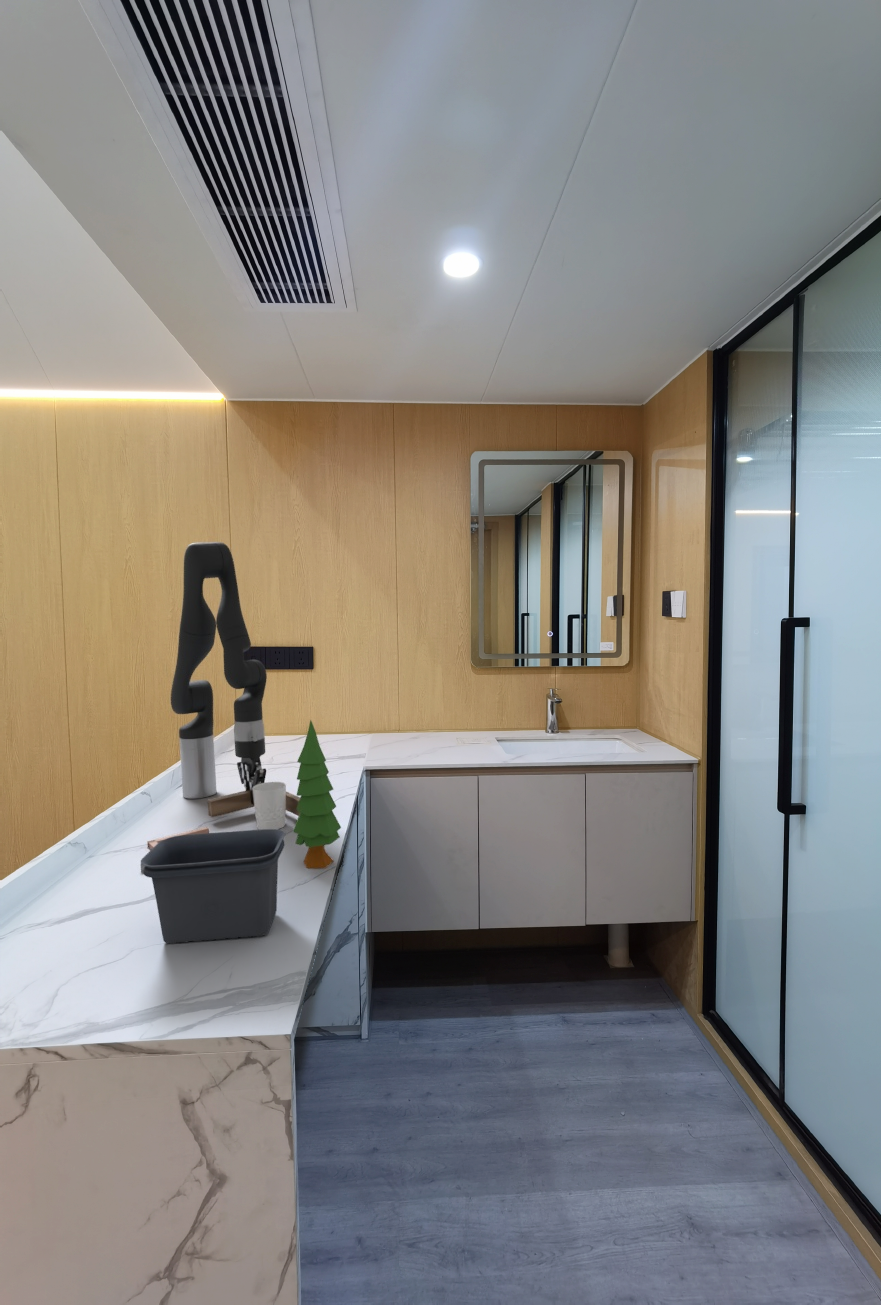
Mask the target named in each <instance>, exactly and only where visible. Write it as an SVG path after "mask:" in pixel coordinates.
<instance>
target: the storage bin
mask: <svg viewBox="0 0 881 1305" xmlns="http://www.w3.org/2000/svg"><path fill="white" fill-rule="evenodd" d="M285 835H286V831H285V830H282V829H263V830H259V829H249V830H237V831H236V830H235V831H221V832H209V833H205V834H189V835H179V836H174V837H170V838H167V839H164V840H162V841H160V842H159V843H158V844H157V845H156V846H155V847H154V848H153V849H152V850H151V849H149V851H148V852H147V853H146V854H145V855H144V856H143V857H142V858H141V860H140V865H141V864H142V865H144V866H145V867H144V871H142V874H143V875H144V876H145V877H147V878H151V881H152V886H153V892H154V895H155V900H156V906H157V913H158V918H159V923H160V929H161V934H162V939H163V942H164V943H167V944H177V943H176V942H181V943H189V942H188V941H193V942H201V941H202V940H204V941H214V939H216V940H226V939H225V938H228V939H238V937H241V938H249V937H248V936H253V937H260V936H261V937H262V936H264V935H266V934H268V933H269V931H270V930H271V926H272V923H273V921H274V918H275V916H276V914H277V908H278V907H277V904H278V874H279V872H278V871H279V870H278V868H279V866H278V865H279V863H278V862H279V858H280V856H281V854H282V852H283V850H284V847H285V845H286V844H285V840H284V838H285ZM186 941H187V942H186Z"/></svg>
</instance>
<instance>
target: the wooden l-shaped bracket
mask: <svg viewBox="0 0 881 1305" xmlns="http://www.w3.org/2000/svg"><path fill="white" fill-rule="evenodd" d="M300 797H301V796H296V795H295V794H293V793H290V792H289V791H286V812H289V813H290V814H291V813H292V814H293V815H296V816H297V817H299V815H300V812H299V811H298V810H296V809H297V806H298V803H299V800H300ZM206 803H207V812H208V814H207V815H208V816H209V817H210V818H215V817H219V816H223V815H226V814H231V813H234V812H239V811H242V810H243V811H244V810H246V809H251V808H254V805H253V804H251V795H250V790H246V789H245V790H243V791H238V792H234V793H231V794H227V795H222V796H221V795H220V796H218V797H214V798H209V799H207V802H206Z"/></svg>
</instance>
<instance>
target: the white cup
mask: <svg viewBox="0 0 881 1305" xmlns="http://www.w3.org/2000/svg"><path fill="white" fill-rule="evenodd" d="M286 788H287V784H286V783H284V782H282V781H268V782H264V783H261V784H258V785H255V786H254V787H253V788H252V789H253V799H254V807H253V809H254V815H255V820H256V828H257V830H263V829H277V830H281V828H283V827H285V826H286V814H287V810H286V792H287V789H286Z"/></svg>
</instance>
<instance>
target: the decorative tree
mask: <svg viewBox="0 0 881 1305" xmlns="http://www.w3.org/2000/svg"><path fill="white" fill-rule="evenodd" d="M313 724H314V723H313V721H312V719H310V721H309V725H308V730H307V734H306V737H305V741H304V745H303V748H302V749H301V752H300V754H299V757H298V758H297V761H296V762H297V763H299V768H298V773H297V777H296V780H297V781H299V782H298V786H297V792H296V795H295V796H298V797H300V800H299V803H298V806H297V809H296V810H298V811H299V812H300V815H299V816H297V820H296V822H295V824H294V829H293V833H295V834H297V836H296V840H295V845H299V846H301V845H304V844H305V847H307V848H308V849H307V853H306V854H305V857H304V859H303V864H304V865H305V868H306V869H326V868H328V866H330V864H332V863H333V862H334V859H333V858H331V856H330V855H329V854H328V853H327V851H326V850H325V846H328V845H331V844H332V843H334V842H336V840H338V839H340V834H339V832H338V831H339V830H340V829H341V828H342V826H341V825H340V822H339V821H338V819H337V817H336V815H335V813H334V812H333V810H335V809H336V808H337V805H336V802H335V801H334V799H333V796H332V795H331V791H334V787H333V785H332V783H331V780H330V778H329V777H328V774H329V773H330V771H329V770H328V767H327V765H326V763H325V762H327V759H326V758H325V755H324V753H323V750H322V748H321V746H320V742H319V739H318V736H317V732H316V729H315V727H314V725H313Z"/></svg>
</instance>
